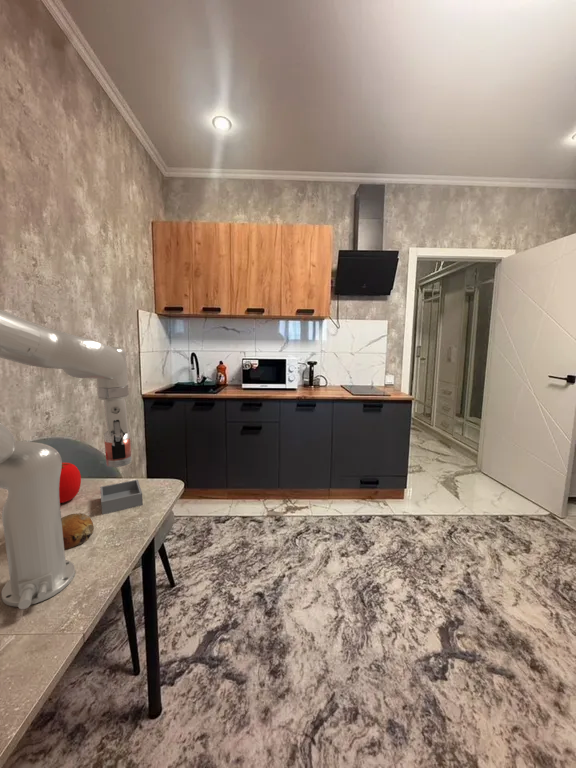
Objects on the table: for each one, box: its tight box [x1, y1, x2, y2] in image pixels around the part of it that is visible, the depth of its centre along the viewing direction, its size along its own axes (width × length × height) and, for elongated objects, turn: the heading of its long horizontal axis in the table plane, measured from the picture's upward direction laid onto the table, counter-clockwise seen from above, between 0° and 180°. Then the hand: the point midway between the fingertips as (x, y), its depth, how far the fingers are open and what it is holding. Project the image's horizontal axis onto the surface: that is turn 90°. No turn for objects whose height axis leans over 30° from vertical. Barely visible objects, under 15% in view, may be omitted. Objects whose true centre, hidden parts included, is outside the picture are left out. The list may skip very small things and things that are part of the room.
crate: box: [99, 479, 144, 515], centre depth 105 cm, size 11×11×4 cm
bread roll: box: [61, 512, 95, 550], centre depth 87 cm, size 10×10×8 cm
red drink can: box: [103, 429, 133, 468], centre depth 93 cm, size 6×6×9 cm
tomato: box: [59, 462, 82, 504], centre depth 105 cm, size 12×12×13 cm
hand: (118, 453), depth 93 cm, fingers closed on red drink can, 6 cm apart
